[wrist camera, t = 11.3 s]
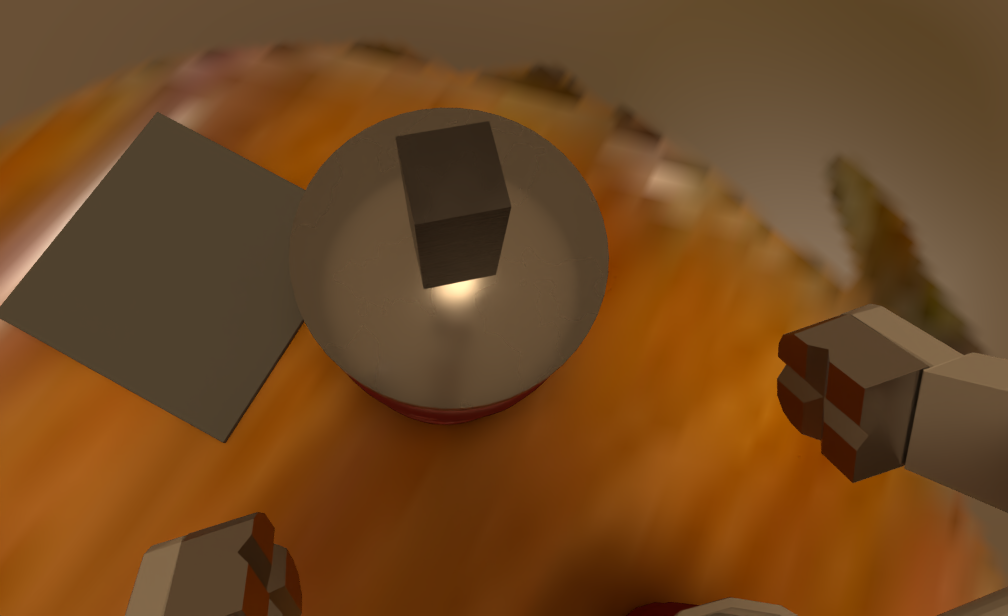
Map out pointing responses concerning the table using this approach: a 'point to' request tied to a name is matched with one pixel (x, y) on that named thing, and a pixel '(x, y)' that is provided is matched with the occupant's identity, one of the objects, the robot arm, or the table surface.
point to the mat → (172, 278)
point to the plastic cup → (713, 609)
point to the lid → (448, 258)
